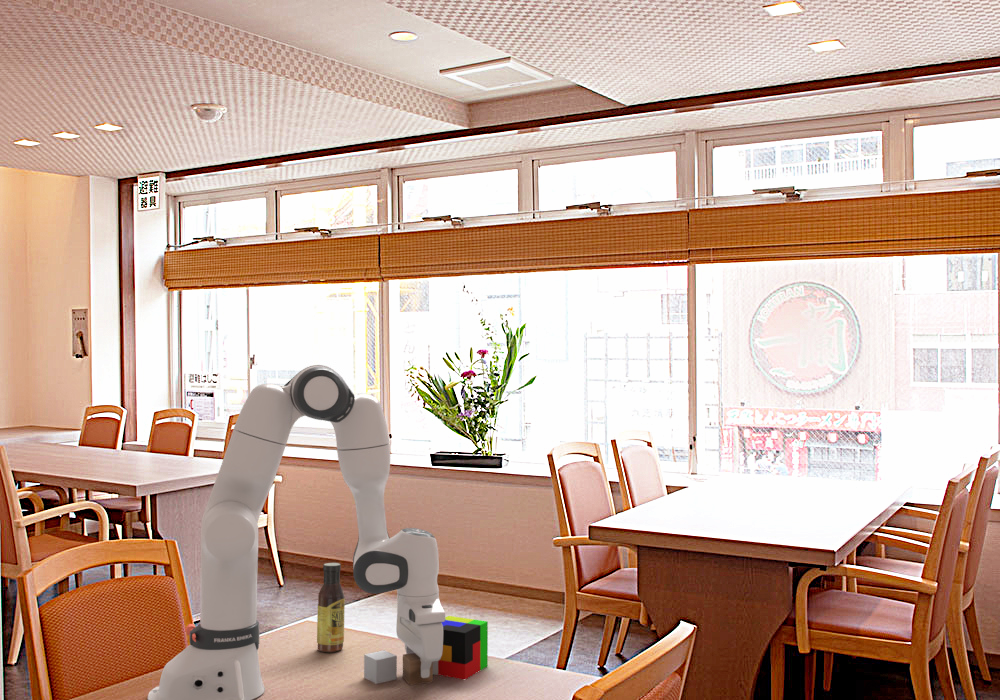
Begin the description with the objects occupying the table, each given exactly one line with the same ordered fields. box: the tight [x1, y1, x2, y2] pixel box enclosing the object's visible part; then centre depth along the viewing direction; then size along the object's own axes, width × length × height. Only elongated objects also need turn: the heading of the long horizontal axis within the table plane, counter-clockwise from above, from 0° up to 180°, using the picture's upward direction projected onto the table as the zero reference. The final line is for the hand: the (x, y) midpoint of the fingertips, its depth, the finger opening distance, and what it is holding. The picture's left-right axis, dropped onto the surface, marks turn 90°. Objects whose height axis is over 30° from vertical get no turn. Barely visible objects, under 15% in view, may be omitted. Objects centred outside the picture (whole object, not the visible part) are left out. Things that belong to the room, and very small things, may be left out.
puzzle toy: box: [433, 615, 489, 680], centre depth 208 cm, size 10×10×10 cm
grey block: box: [363, 649, 398, 685], centre depth 202 cm, size 5×5×5 cm
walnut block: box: [402, 653, 434, 686], centre depth 201 cm, size 5×5×5 cm
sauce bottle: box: [316, 562, 346, 653], centre depth 222 cm, size 6×6×20 cm
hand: (418, 670), depth 201 cm, fingers open, 7 cm apart
